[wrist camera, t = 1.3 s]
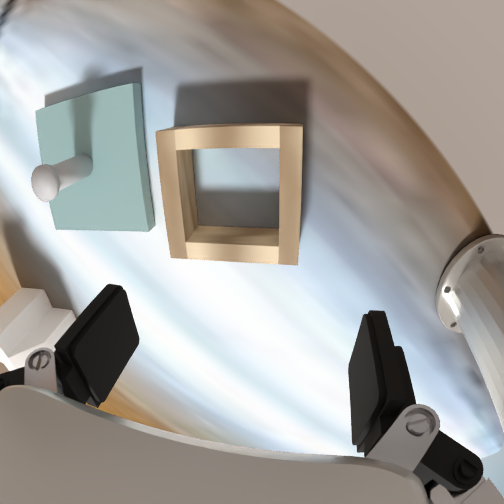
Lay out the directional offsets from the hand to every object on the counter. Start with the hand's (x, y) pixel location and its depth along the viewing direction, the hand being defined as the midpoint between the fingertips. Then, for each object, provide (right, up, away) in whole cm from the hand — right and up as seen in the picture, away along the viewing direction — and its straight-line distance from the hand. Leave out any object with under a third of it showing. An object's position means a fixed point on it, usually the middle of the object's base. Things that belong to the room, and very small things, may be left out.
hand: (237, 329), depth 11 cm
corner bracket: (-31, -7, +29) cm, 43 cm away
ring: (-1, +9, +15) cm, 17 cm away
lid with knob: (-16, +12, +16) cm, 25 cm away
